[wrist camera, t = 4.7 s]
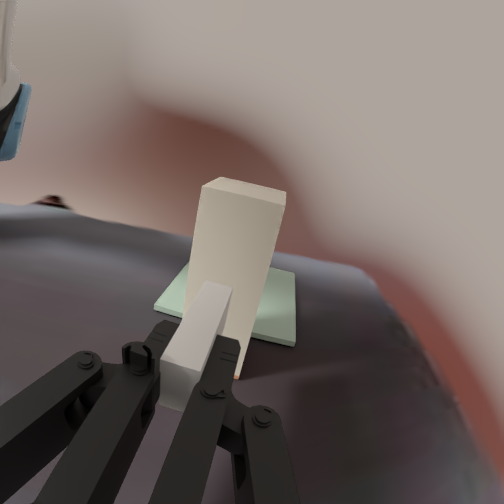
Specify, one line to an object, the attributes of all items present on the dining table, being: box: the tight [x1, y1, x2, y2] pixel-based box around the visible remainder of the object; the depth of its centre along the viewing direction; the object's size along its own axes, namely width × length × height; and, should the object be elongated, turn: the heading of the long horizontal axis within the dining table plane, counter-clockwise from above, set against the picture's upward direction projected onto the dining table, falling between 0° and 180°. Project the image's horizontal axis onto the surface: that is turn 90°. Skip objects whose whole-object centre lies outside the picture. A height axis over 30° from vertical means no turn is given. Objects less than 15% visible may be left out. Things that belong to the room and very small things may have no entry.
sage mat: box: [154, 260, 296, 347], centre depth 35 cm, size 14×16×1 cm
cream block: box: [182, 177, 286, 379], centre depth 22 cm, size 5×5×14 cm
